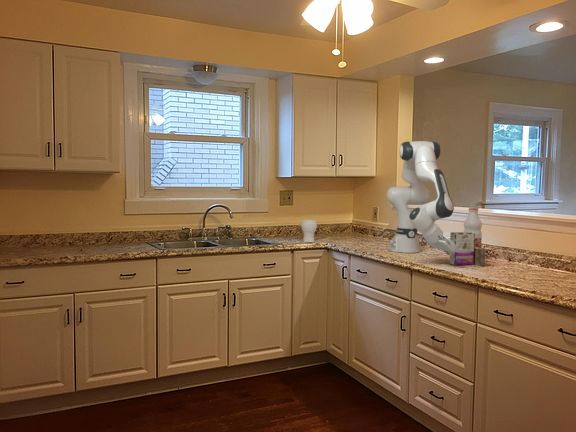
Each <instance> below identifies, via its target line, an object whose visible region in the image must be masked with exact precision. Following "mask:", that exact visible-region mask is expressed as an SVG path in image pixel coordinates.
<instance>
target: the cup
mask: <svg viewBox="0 0 576 432" xmlns="http://www.w3.org/2000/svg"><path fill="white" fill-rule="evenodd" d="M300 225H301V226H300V227H301V231H302V233H303V240H302V243H306V242H313V243H315V232H316V231H317V227H318V223H317V220H316V219H302V220H301V224H300Z"/></svg>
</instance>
